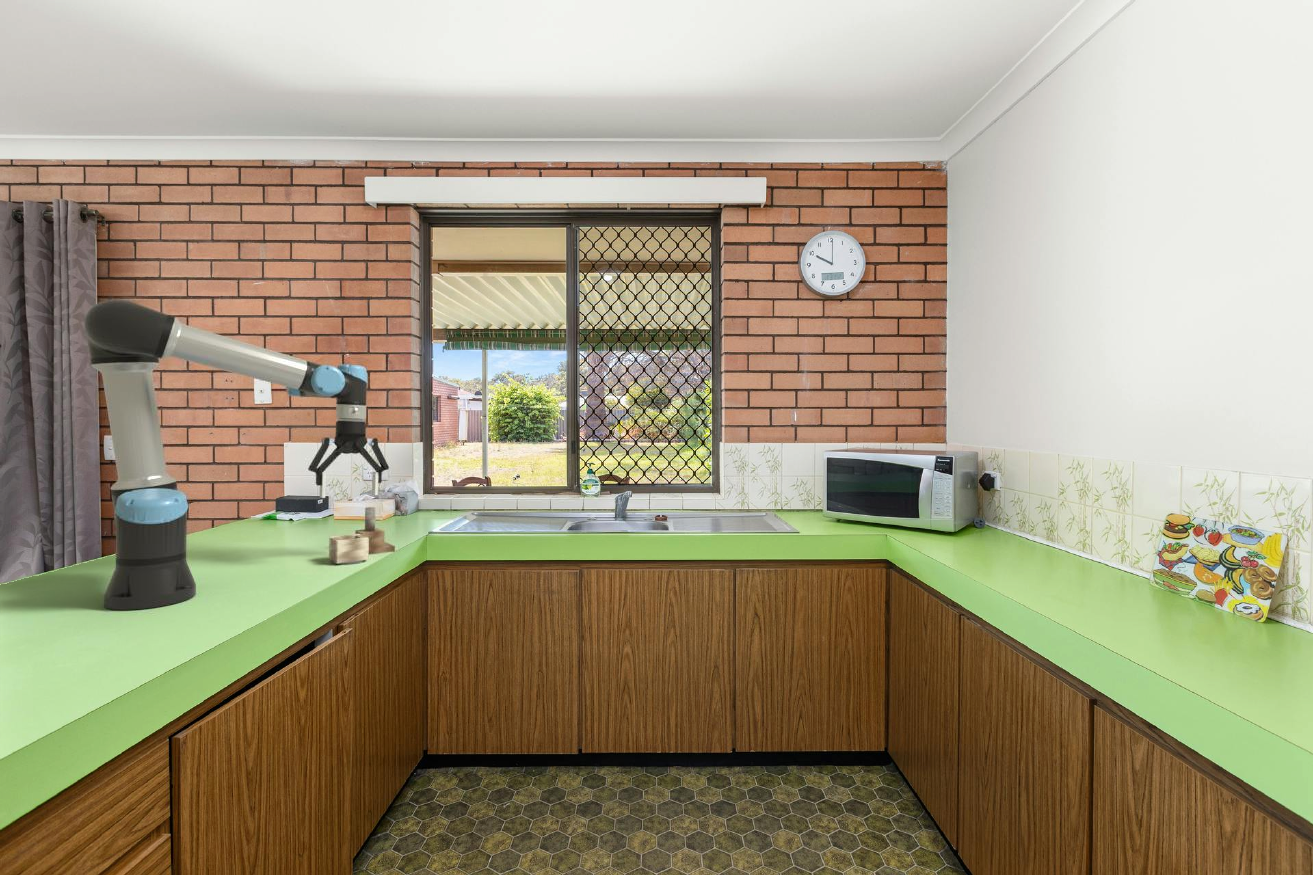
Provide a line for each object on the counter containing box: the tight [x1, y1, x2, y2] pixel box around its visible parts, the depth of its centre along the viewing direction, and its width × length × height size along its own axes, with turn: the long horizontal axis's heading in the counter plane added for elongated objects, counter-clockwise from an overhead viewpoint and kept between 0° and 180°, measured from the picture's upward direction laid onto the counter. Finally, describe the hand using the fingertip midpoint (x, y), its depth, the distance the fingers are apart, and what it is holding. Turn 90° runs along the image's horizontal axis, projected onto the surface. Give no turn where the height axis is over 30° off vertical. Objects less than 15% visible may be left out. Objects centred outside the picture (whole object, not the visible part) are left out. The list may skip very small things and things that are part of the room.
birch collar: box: [328, 533, 370, 563], centre depth 167 cm, size 8×8×6 cm
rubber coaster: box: [330, 559, 367, 566], centre depth 168 cm, size 9×9×1 cm
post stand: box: [354, 506, 396, 555], centre depth 182 cm, size 11×11×13 cm
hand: (349, 496), depth 167 cm, fingers open, 13 cm apart
